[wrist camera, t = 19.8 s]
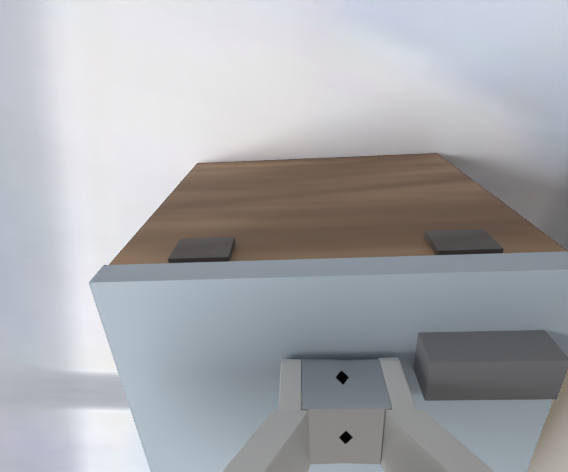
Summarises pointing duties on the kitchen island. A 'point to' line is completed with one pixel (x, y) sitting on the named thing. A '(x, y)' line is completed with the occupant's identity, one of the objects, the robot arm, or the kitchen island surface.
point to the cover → (337, 345)
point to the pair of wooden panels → (330, 213)
